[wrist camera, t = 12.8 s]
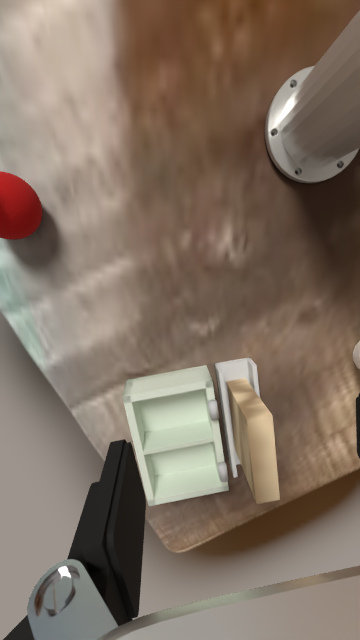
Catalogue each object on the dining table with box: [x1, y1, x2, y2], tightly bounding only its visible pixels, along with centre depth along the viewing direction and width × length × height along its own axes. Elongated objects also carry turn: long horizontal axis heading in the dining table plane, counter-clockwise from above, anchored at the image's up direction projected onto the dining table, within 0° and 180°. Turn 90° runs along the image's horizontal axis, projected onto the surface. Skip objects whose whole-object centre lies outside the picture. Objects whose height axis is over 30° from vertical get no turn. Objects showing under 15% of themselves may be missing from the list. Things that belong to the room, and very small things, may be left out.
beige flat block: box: [226, 378, 280, 504], centre depth 37 cm, size 3×12×10 cm, turn 9°
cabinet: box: [122, 357, 260, 506], centre depth 39 cm, size 19×18×6 cm
